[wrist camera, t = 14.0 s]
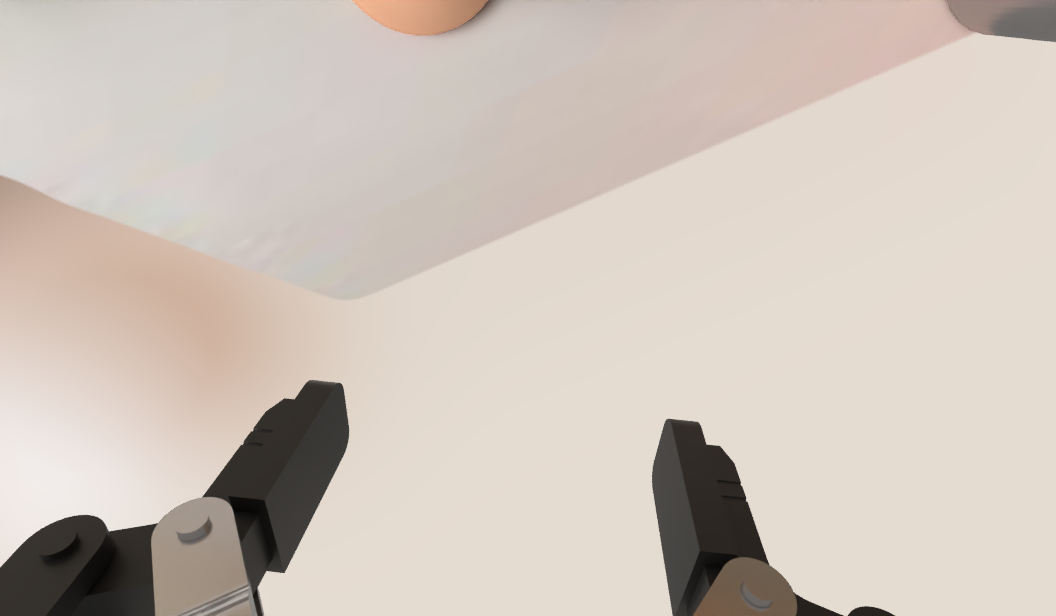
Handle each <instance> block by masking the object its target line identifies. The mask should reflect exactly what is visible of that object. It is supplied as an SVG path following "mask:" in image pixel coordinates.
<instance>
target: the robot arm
mask: <svg viewBox="0 0 1056 616" xmlns="http://www.w3.org/2000/svg"><path fill="white" fill-rule="evenodd" d="M947 2H948V5H949V7H950V10H951V12H952V13H953V15H954V16H955V17H956V19H957V20H958V21H959V22H960V23H961V24H962V25H964V26H965V27H967V28H968V29H970V30H972V31H975V32H978V33H981V34H985V35H996V36H1005V37H1015V38H1025V39H1032V40H1041V41H1051V42H1056V0H947ZM348 439H349V425H348V418H347V410H346V403H345V396H344V389H343V386H342V384H341V383H334V382H324V381H316V380H310V381H308V382H307V383H306V384H305V385H304V387H303V388H302V390H301V391H300V392H299V394H298V396H297V397H296V398H295V399H283V400H282V401H280V402H279V403H278V404H276V405H275V406H273V407H272V408H270V409H269V410H268V411H266V412H265V414H264V415H263V416H262V418H261V419H260V420H259V422H258V423H257V424H256V426H255V427H254V430H253V432H251V433H250V434H249V435H248V436H247V438H246V439H245V440H244V444H243V445H241V446H240V447H239V449H238V450H237V451H236V453H235V454H234V455H233V457H232V458H231V459H230V461H229V462H228V463H227V465H226V466H225V467H224V469H223V470H222V471H221V473H220V474H219V476H218V477H217V478H216V480H215V481H214V482H213V484H212V485H211V486H210V488H209V489H208V490H207V492H206V493H205V494H204V496H203V497H202V498H198V499H194V500H191V501H188V502H186V503H183V504H181V505H179V506H178V507H176V508H174V509H173V510H171V511H170V512H169V513H168V514H166V515H165V516H164V517H163V518H162V519H161V520H160V521H159V523H157V524H152V525H146V526H141V527H134V528H128V529H122V530H116V531H110V532H109V531H108V529H107V527H106V525H105V524H104V522H103V521H102V520H101V519H99V518H98V517H95V516H90V515H78V516H72V517H68V518H64V519H62V520H59V521H56V522H54V523H52V524H50V525H48V526H46V527H44V528H42V529H41V530H39V531H38V532H36V533H35V534H33V535H32V536H31V537H29V538H28V539H27V540H26V541H25V542H24V543H23V544H22V545H21V546H20V547H19V548H18V549H17V550H16V551H15V552H14V553H13V555H12V556H11V557H10V558H9V559H8V560H7V561H6V562H5V563H4V564H3V565H2V566H1V567H0V616H264V612H263V608H262V603H261V599H260V594H259V590H258V585H259V583H260V582H261V580H262V578H263V576H264V574H265V572H266V571H272V572H280V573H285V571H286V569H287V567H288V565H289V563H290V561H291V559H292V557H293V555H294V553H295V551H296V549H297V547H298V545H299V543H300V541H301V539H302V537H303V535H304V533H305V531H306V529H307V527H308V525H309V523H310V521H311V519H312V517H313V515H314V513H315V511H316V509H317V507H318V505H319V503H320V501H321V499H322V497H323V495H324V493H325V491H326V489H327V487H328V485H329V483H330V481H331V479H332V477H333V475H334V473H335V471H336V469H337V467H338V465H339V463H340V461H341V459H342V457H343V455H344V453H345V451H346V448H347V443H348ZM652 484H653V485H652V486H653V494H654V499H655V506H656V513H657V519H658V525H659V531H660V538H661V543H662V550H663V557H664V563H665V569H666V575H667V582H668V588H669V595H670V601H671V607H672V614H673V616H843V615H840V614H838V613H836V612H833V611H831V610H828V609H826V608H824V607H821V606H818V605H816V604H814V603H811V602H809V601H807V600H805V599H803V598H802V597H800V596H798V595H796V594H795V593H794V592H793V590H792V588H791V586H790V585H789V583H788V582H787V581H786V579H785V578H784V577H783V576H782V575H781V574H780V573H779V572H778V571H777V570H775V569H774V568H773V567H771V566H770V565H769V563H768V560H767V558H766V555H765V552H764V549H763V546H762V543H761V540H760V537H759V534H758V532H757V529H756V526H755V523H754V520H753V517H752V514H751V511H750V508H749V505H748V502H746V496H745V493H744V490H743V488H742V486H741V482H740V479H739V476H738V473H737V470H736V467H735V464H734V462H733V461H732V460H731V459H730V458H729V456H728V455H727V454H726V453H725V452H724V450H723V449H722V448H721V447H720V446H714V445H706V442H705V438H704V435H703V432H702V428H701V426H700V424H699V423H698V422H693V421H683V420H675V419H667V420H666V421H665V424H664V427H663V431H662V434H661V438H660V442H659V445H658V449H657V453H656V457H655V460H654V465H653V472H652ZM848 616H895V615H893V614H891V613H889V612H887V611H884V610H882V609H879V608H875V607H867V606H865V607H859V608H856V609H854V610H852V611H851V612H850V614H849V615H848Z"/></svg>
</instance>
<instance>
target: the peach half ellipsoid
mask: <svg viewBox="0 0 1056 616" xmlns="http://www.w3.org/2000/svg"><path fill="white" fill-rule="evenodd" d="M352 1H353V2H354V3H355V4H356V5H357V6H358V7H359V8H360V9H361V10H362V11H363V12H365V13H366V14H367V15H368V16H370V17H371V18H372V19H374V20H375V21H377V22H378V23H380V24H382V25H383V26H386V27H388V28H390V29H392V30H394V31H398V32H401V33H405V34H410V35H434V34H440V33H443V32H447V31H450V30H453V29H455V28H457V27H459V26H461V25H463V24H464V23H466V22H467V21H469V20H470V19H472V18H473V17H474V16H475V15H476V14H477V13H478V12H479V11H480V10H481V9H482V8H483V7H484V6H485V4H486V3H487V2H488V1H489V0H352Z"/></svg>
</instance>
